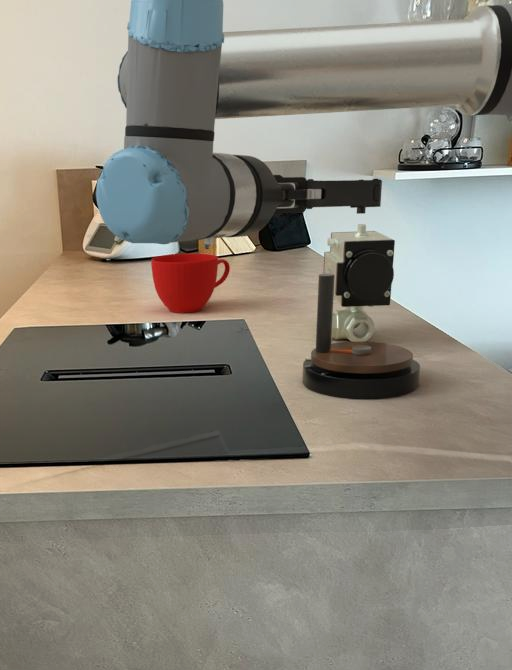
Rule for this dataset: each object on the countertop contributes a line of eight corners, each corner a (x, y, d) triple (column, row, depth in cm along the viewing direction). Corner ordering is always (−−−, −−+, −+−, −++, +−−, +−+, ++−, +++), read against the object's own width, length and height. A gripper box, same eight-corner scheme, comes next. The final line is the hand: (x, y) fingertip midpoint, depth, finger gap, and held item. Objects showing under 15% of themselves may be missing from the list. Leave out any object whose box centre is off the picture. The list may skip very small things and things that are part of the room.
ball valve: (317, 327, 136) (321, 220, 129) (366, 326, 136) (373, 218, 129) (333, 352, 120) (339, 231, 113) (389, 351, 119) (399, 229, 112)
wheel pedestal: (422, 371, 108) (424, 352, 107) (412, 403, 96) (414, 381, 95) (313, 364, 114) (314, 346, 113) (290, 394, 101) (291, 373, 100)
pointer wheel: (417, 351, 107) (424, 268, 102) (406, 376, 96) (414, 285, 91) (321, 346, 112) (324, 267, 107) (301, 370, 101) (304, 282, 96)
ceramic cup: (247, 307, 155) (247, 255, 152) (174, 319, 148) (173, 264, 144) (211, 298, 166) (210, 249, 162) (141, 309, 158) (139, 258, 154)
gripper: (124, 238, 83) (228, 230, 99) (346, 237, 69) (426, 228, 85) (121, 161, 81) (229, 166, 97) (351, 145, 67) (432, 154, 83)
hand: (321, 195), depth 91 cm, fingers open, 13 cm apart
